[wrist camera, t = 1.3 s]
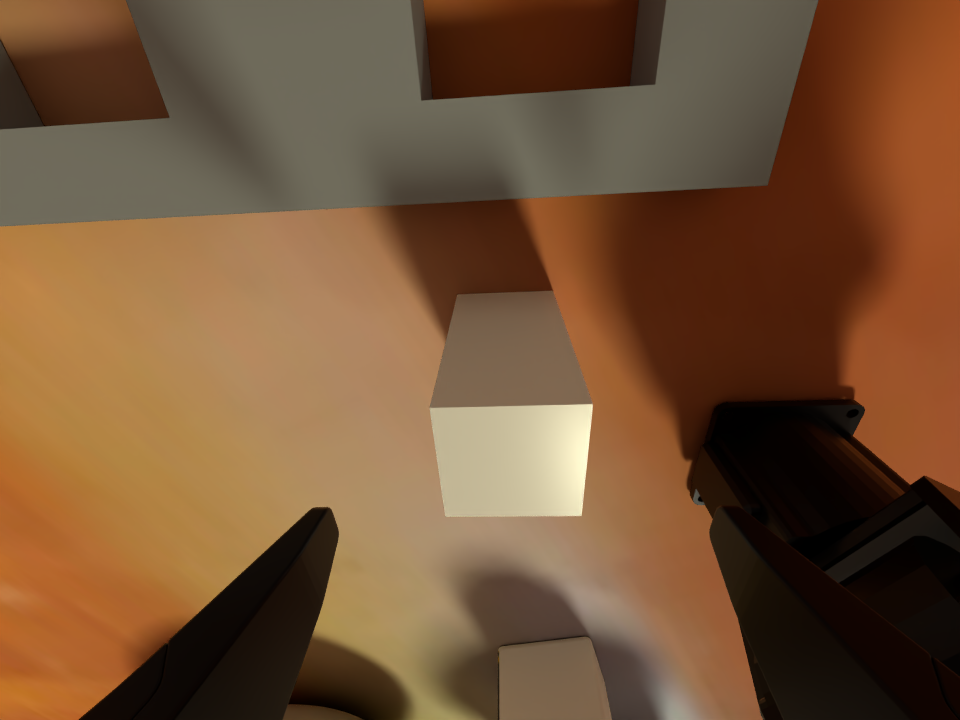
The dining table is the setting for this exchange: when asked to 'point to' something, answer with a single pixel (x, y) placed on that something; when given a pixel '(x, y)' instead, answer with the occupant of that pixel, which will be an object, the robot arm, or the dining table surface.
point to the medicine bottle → (551, 681)
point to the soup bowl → (315, 713)
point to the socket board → (400, 115)
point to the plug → (510, 409)
